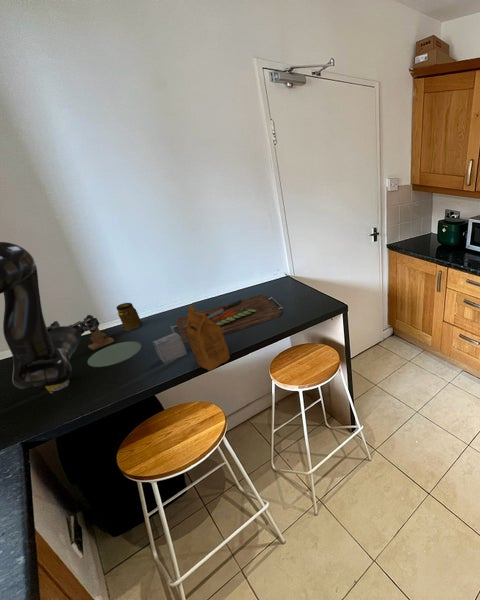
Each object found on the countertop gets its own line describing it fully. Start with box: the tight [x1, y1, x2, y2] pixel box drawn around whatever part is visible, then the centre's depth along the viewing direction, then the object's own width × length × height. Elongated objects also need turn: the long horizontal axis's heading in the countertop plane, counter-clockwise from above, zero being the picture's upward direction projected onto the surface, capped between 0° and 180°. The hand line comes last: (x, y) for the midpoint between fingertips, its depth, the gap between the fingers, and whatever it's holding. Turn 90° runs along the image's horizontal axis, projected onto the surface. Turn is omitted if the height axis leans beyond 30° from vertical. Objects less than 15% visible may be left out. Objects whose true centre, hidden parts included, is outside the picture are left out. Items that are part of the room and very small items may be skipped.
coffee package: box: [187, 305, 231, 371], centre depth 113 cm, size 10×12×22 cm
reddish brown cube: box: [89, 332, 109, 344], centre depth 126 cm, size 4×4×4 cm
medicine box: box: [151, 332, 188, 365], centre depth 117 cm, size 8×4×9 cm, turn 145°
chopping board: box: [169, 294, 285, 345], centre depth 145 cm, size 45×27×3 cm, turn 130°
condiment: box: [116, 302, 144, 332], centre depth 135 cm, size 7×8×12 cm
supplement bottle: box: [45, 378, 71, 394], centre depth 102 cm, size 5×5×10 cm
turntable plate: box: [87, 341, 142, 368], centre depth 120 cm, size 16×16×1 cm
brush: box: [83, 317, 116, 352], centre depth 122 cm, size 7×3×14 cm, turn 151°
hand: (74, 320), depth 108 cm, fingers open, 8 cm apart
